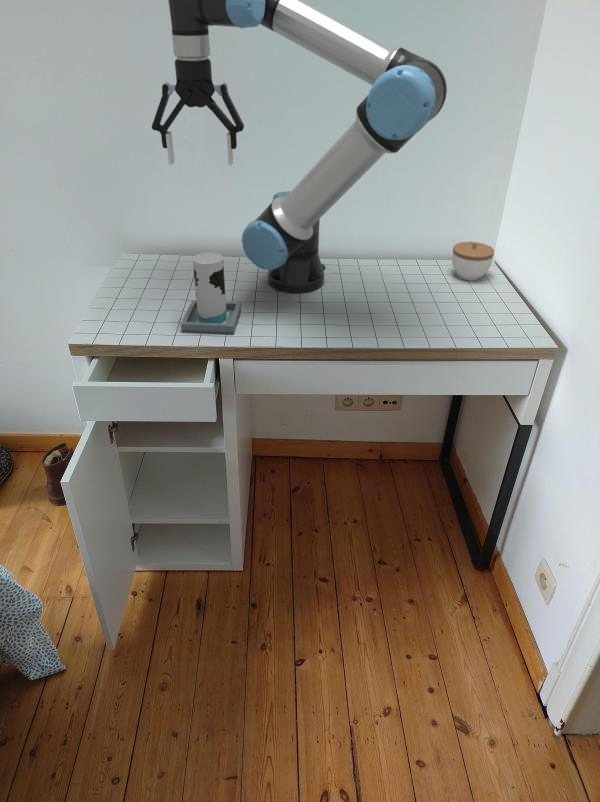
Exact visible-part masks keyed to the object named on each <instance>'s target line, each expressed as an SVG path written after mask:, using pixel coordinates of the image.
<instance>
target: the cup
mask: <svg viewBox="0 0 600 802" xmlns="http://www.w3.org/2000/svg"><path fill="white" fill-rule="evenodd" d="M192 266H193V275H194V287H195V288H194V289H195V298H196V300H197V310H198V320H199V322H200V323H223V322H225V321H226V319H227V312H226V302H227V299H226V298H227V297H226V286H225V285H226V284H225V268H224V267H225V266H224V257H223V255H222V254H220V253H217V252H214V251H213V252H209V251H208V252H207V251H205V252H199V253H197V254H195V255H194V256H193V257H192Z"/></svg>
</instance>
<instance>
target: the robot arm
mask: <svg viewBox="0 0 600 802" xmlns="http://www.w3.org/2000/svg"><path fill="white" fill-rule="evenodd" d="M168 6H169V13H170V23H171V37H172V40H171V41H172V48H173V56H174V57H176V58H175V60H174V67H175V68H174V69H175V70H174V71H175V78H176V84H170V83H169V82H165V83H163V84H162V86H161V98H160V101H159V104H158V106H157V109H156V112H155V115H154V119H153V121H152V124H151V129H152V130H153V131H157V132H159V133H160V136H161V137H160V138H161V145H162V148H163V149H167V158H168V160H167V161H168V165H171V166H172V165H173V164H174V163H175V154H174V153H175V152H174V143H173V135H172V131H168V130H169V128H170V127H171V125H172V124H173V123H174V122H175V119H176V118H177V116H178V115H179V114H180V113H181V111H182V109H183V108H184V107H185V106H186V107H188V108H195V107H197V108H204V107H207V108H208V109H209V110H211V112H212V114H214V115H215V117H216V118H217V119H218V120H219V121H220V123H222V125H223V126H224V127H225V128H226V130H227V131H228V132H227V134H226V143H227V144H226V145H227V146H226V147H227V161H228V166H232V165H233V164H234V155H233V153H234V152H233V150H236V149H237V147H238V146H237V145H238V143H237V142H238V140H237V133H239V132H243V130H244V129H245V124H244V123H243V120H242V118H241V117H240V114H239V112H238V110H237V108H236V107H235V104H234V102H233V100H232V99H231V96H230V95H229V89H228V85H227V83H226V82H223V83H222V84H216V85H214V82H213V75H212V74H213V73H212V61H211V59H210V58H209V57H210V56H211V47H210V46H211V43H210V36H209V35H210V34H209V33H210V32H209V26H210V27H211V26H212V27H213V26H216V27H217V26H218V27H233V28H239V29H248V28H256V27H258V26H259V25H261V26H263V27H264V28H267V29H268V30H269V31H273V32H274V33H276V34H278V35H280V36H282V37H283V38H285V39H287V40H289V41H291V42H293V43H294V44H296V45H298V46H299V47H302V48H304V49H305V50H307V51H308V52H311V53H313V55H316V56H318V57H320V58H322V59H323V60H325V61H327V62H329V63H330V64H332V65H334V66H336V67H338V68H340V69H342V70H343V71H346V73H349V74H351V75H352V76H354V77H356V78H358V79H360V80H361V81H363V82H365V83H367V84H368V85H370V86H371V88H370V90H369V92H368V94H367V95H366V97H365V98H364V99H363V100H362V101H361V102H360V103H359V104H358V106H357V107H356V108H355V121H353V122H352V124H351V125H350V126H349V128H348V127H347V128H348V129H346V131H344V133H342V134H341V136H340V137H339V138H338V139H337V140H336V141H335V143H333V144H332V146H331V147H330V148H329V149H328V150H327V151H326V153H325V154H324V155H322V157H321V158H320V159H319V160H318V161H317V163H315V164H314V166H313V167H312V168H311V169H310V170H309V171H308V172H307V173H306V175H304V176H303V178H302V179H301V180H300V181H299V182H298V183H297V184H296V185H295V186H294V187H293V189H292V190H291V191H290V190H289V191H279V192H276V193H274V195H273V197H272V200H271V203H270V204H269V205H268V206H267V207H266V208H265V210H263V212H261V214H260V215H259V216H258V217H257V218H255V220H252V221H250V222H249V223H248V224H247V225H246V227H245V228H244V230H243V231H242V234H241V244H242V249H243V252H244V253H245V255H246V257H247V258H248V260H249V261H250V262H251V263H252V264H253V265H255V266H256V267H258V268H259V269H262V270H267V273H266V274H267V284H268V285H269V286H270V287H271V288H273V289H274V290H277V291H280V292H283V293H291V294H301V293H308V292H313V291H316V290H318V289H320V288H321V287H322V286H323V285H324V284H325V272H324V267H323V265H322V262H321V261H322V260H321V258H320V254H319V244H320V241H319V240H320V219H321V218H322V217H323V216H324V215H325V214H326V213H327V212H328V211H329V210H330V209H331V208H332V207H333V206H334V205H335V204H336V203H337V202H338V201H339V200H340V199H341V198H342V197H343V196H344V195H345V194H346V193H347V192H348V191H349V190H350V189H351V188H352V187H353V186H354V185H355V184H356V183H357V182H358V181H359V180H360V179H361V178H362V177H363V176H364V175H365V174H366V173H367V172H368V171H369V170H370V169H371V168H372V167H373V166H374V165H375V164H376V163H377V162H378V161H379V160H380V159H381V158H382V157H383V156H384V155H385V154H397V153H398V152H399V151H400V150H401V149H402V148H403V147H404V146H405V145H406V144H407V143H408V142H409V141H410V140H411V139H412V138H413V137H414V136H415V135H416V134H418V133H419V132H420V131H421V130H422V129H423V128H424V127H425V126H426V125H427V124H428V123H429V122H430V121H432V120H433V119H434V118H436V116H437V115H438V114H439V113H440V112H441V110H442V108H443V107H444V104H445V103H446V102H445V101H446V99H447V94H448V87H447V86H448V85H447V79H446V77H445V75H444V73H443V71H442V70H441V68H440V67H439V66H438V65H437V64H435V63H434V62H433V61H430V60H429V59H427V58H424V57H421V56H419V55H418V54H415V53H413V52H411V51H409V50H407V49H405V48H403V47H402V46H398V47H395V48H391V47H389V46H387V45H385V44H384V43H382V42H380V41H378V40H376V39H374V38H373V37H371V36H368V35H367V34H365V33H363V32H361V31H360V30H357V29H356V28H354V27H352V26H350V25H349V24H347V23H346V22H345V23H344V22H343V21H341V20H339V19H337V18H335V17H333V16H332V15H330V14H327V13H325V12H324V11H322V10H320V9H319V8H317V7H315V6H312V5H311V4H309V3H307V2H306V1H304V0H168ZM174 92H175V93H176V94H177V95H178V97H179V100H178V102H177V104H176V105H175V107H174V108H173V110H172V111H171V112H170V115H168V117H167V118H166V120H165V122H164V123H163V124H161V122H162V119H163V116H164V114H165V111H166V108H167V105H168V102H169V99H170V96H171V95H173V93H174ZM215 92H217V94H218V96H220V97H221V98H222V101H223V103H224V105H225V107H226V109H227V111H228V113H229V115H230V117H231V118H232V121H233V122H234V123H233V122H232V121H231V120H230V119H229V118H228V116H227V115H226V114H225V113H224V112H223V110H222V109H221V108H220V106H219V105H218V104H217V103H216V101H215V99H214V98H213V95H214V93H215Z"/></svg>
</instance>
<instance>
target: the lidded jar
mask: <svg viewBox="0 0 600 802" xmlns="http://www.w3.org/2000/svg"><path fill="white" fill-rule="evenodd" d="M494 255H495V249H494V248H493V247H491V246H490V245H488V244H486V243H482V242H477V241H461V242H457V243H455V244H454V245H453V248H452V255H451V256H452V257H451V258H452V259H451V261H452V262H451V263H452V264H451V265H452V268H453V271H454V272H455V273H456V275H457V277H458V278H460V279H462V280H464V281H477V280H480V278H482V277H483V276H484V275H486V274H487V272H488V271H489V269H490V267H491V264H492V263H493V258H494Z"/></svg>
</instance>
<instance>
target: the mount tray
mask: <svg viewBox="0 0 600 802" xmlns="http://www.w3.org/2000/svg"><path fill="white" fill-rule="evenodd" d="M226 312H227V319H226V321H225V322H223V323H200V322H199V320H198V310H197V299H196V300H194V299H192V300H191V302H190V304H189V306H188V308H187V310H186V312H185V315H184V316H183V318H182V320H181V322H180V328H181V329H180V330H181V333H188V334H189V333H192V334H209V335H229V336H230V335H233V336H234V335H235V331H236V328H237V325H238V323H239V320H240V319H239V318H240V317H241V313H242V302H241V301H240V302H239V301H226Z"/></svg>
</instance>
